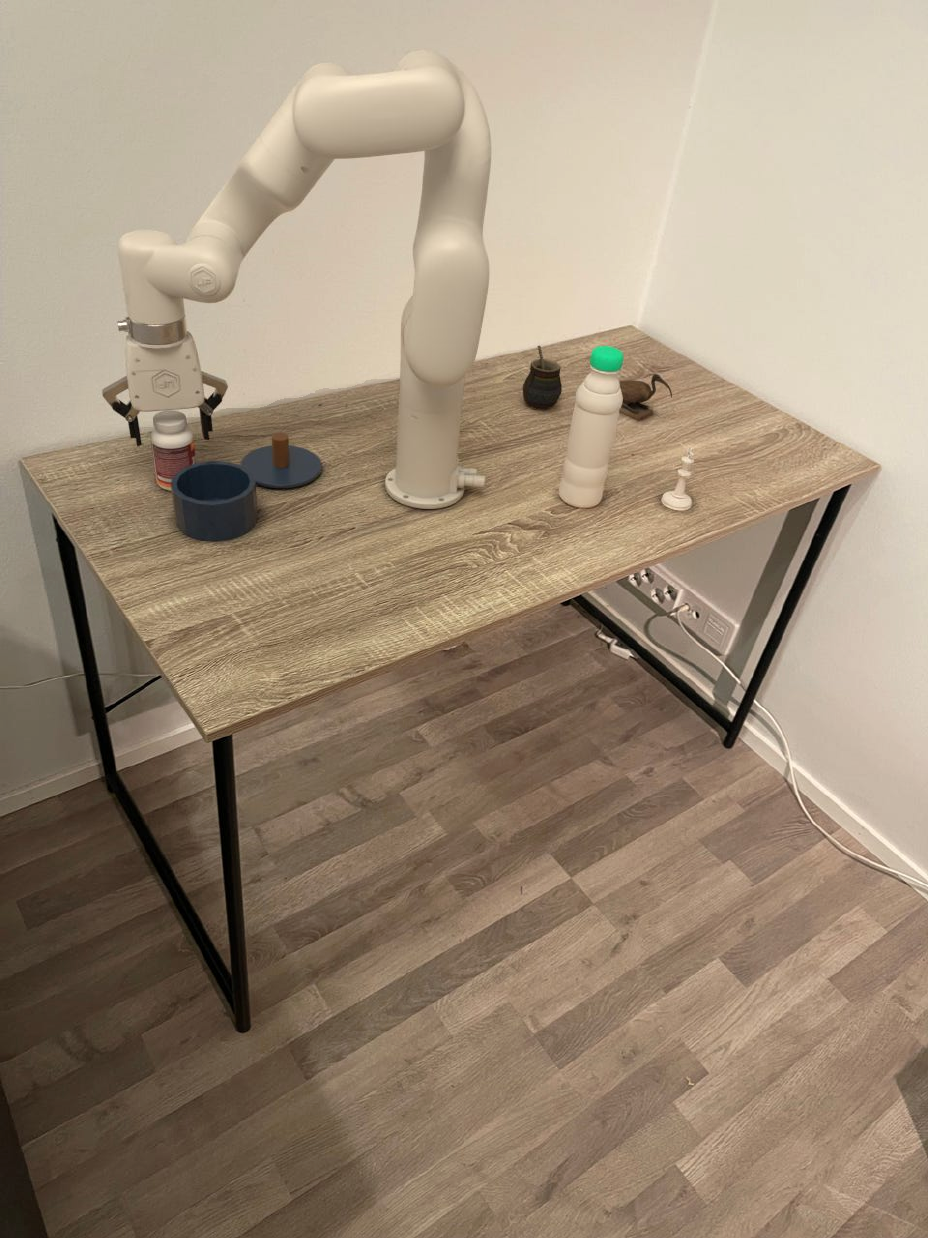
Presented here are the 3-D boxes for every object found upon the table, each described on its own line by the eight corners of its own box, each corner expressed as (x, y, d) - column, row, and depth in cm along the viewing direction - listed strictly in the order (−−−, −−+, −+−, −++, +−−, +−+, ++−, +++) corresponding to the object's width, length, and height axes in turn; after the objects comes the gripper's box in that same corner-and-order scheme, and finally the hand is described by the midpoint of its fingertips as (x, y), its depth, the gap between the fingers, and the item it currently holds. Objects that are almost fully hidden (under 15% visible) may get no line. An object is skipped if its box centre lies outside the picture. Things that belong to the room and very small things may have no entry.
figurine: (671, 422, 174) (682, 379, 168) (657, 429, 171) (668, 385, 166) (611, 395, 181) (620, 352, 175) (597, 401, 178) (606, 358, 173)
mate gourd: (534, 416, 171) (541, 365, 165) (512, 398, 176) (518, 348, 169) (566, 410, 174) (574, 359, 168) (543, 392, 179) (551, 342, 173)
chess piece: (673, 513, 149) (688, 458, 143) (655, 497, 153) (669, 443, 146) (697, 507, 151) (713, 453, 145) (678, 492, 155) (693, 438, 148)
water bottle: (605, 492, 152) (636, 346, 136) (596, 514, 147) (627, 365, 131) (563, 482, 154) (590, 336, 138) (553, 503, 148) (579, 354, 133)
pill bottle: (204, 487, 143) (197, 422, 136) (165, 496, 140) (156, 431, 133) (189, 468, 147) (182, 404, 140) (151, 477, 144) (141, 412, 137)
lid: (326, 453, 154) (325, 420, 150) (315, 494, 144) (315, 460, 141) (249, 447, 154) (247, 413, 150) (233, 487, 144) (231, 453, 140)
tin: (263, 500, 142) (261, 464, 138) (249, 544, 133) (246, 507, 129) (186, 494, 141) (182, 458, 137) (167, 538, 132) (161, 500, 128)
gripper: (92, 342, 123) (112, 456, 134) (226, 335, 128) (235, 445, 139) (90, 319, 128) (109, 431, 139) (218, 313, 133) (227, 421, 144)
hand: (172, 438), depth 139 cm, fingers open, 9 cm apart
